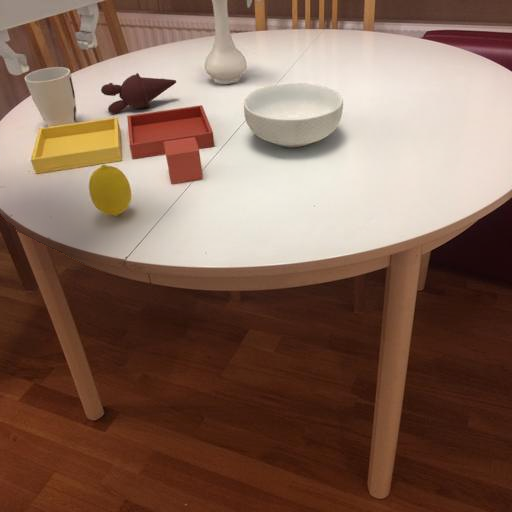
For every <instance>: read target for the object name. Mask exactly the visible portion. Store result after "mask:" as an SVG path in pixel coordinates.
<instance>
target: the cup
mask: <svg viewBox="0 0 512 512" xmlns="http://www.w3.org/2000/svg"><path fill="white" fill-rule="evenodd" d="M24 81H25V83H26V87H27V89H28V91H29V93H30V96H31V99H32V101H33V103H34V105H35V107H36V109H37V110H38V112H39V114H40V116H41V118H42V120H43V121H44V122H45V124H46V125H47V127H52V126H59V125H66V124H73V123H77V103H76V102H77V101H76V94H75V93H76V92H75V88H74V84H73V78H72V75H71V70H70V69H69V68H68V67H62V66H53V67H52V66H51V67H46V68H45V67H44V68H41V69H37V70H33V71H31V72H29V73H28V74H26V75H25V76H24Z"/></svg>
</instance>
